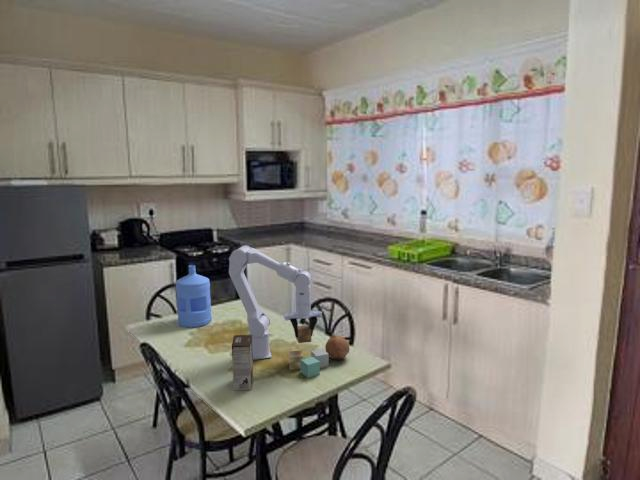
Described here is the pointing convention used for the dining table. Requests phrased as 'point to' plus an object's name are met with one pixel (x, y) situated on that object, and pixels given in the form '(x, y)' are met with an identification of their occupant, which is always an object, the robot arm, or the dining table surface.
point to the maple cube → (295, 359)
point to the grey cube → (321, 357)
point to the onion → (337, 347)
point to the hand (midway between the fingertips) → (303, 336)
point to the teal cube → (310, 367)
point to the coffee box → (242, 362)
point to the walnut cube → (304, 334)
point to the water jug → (193, 300)
